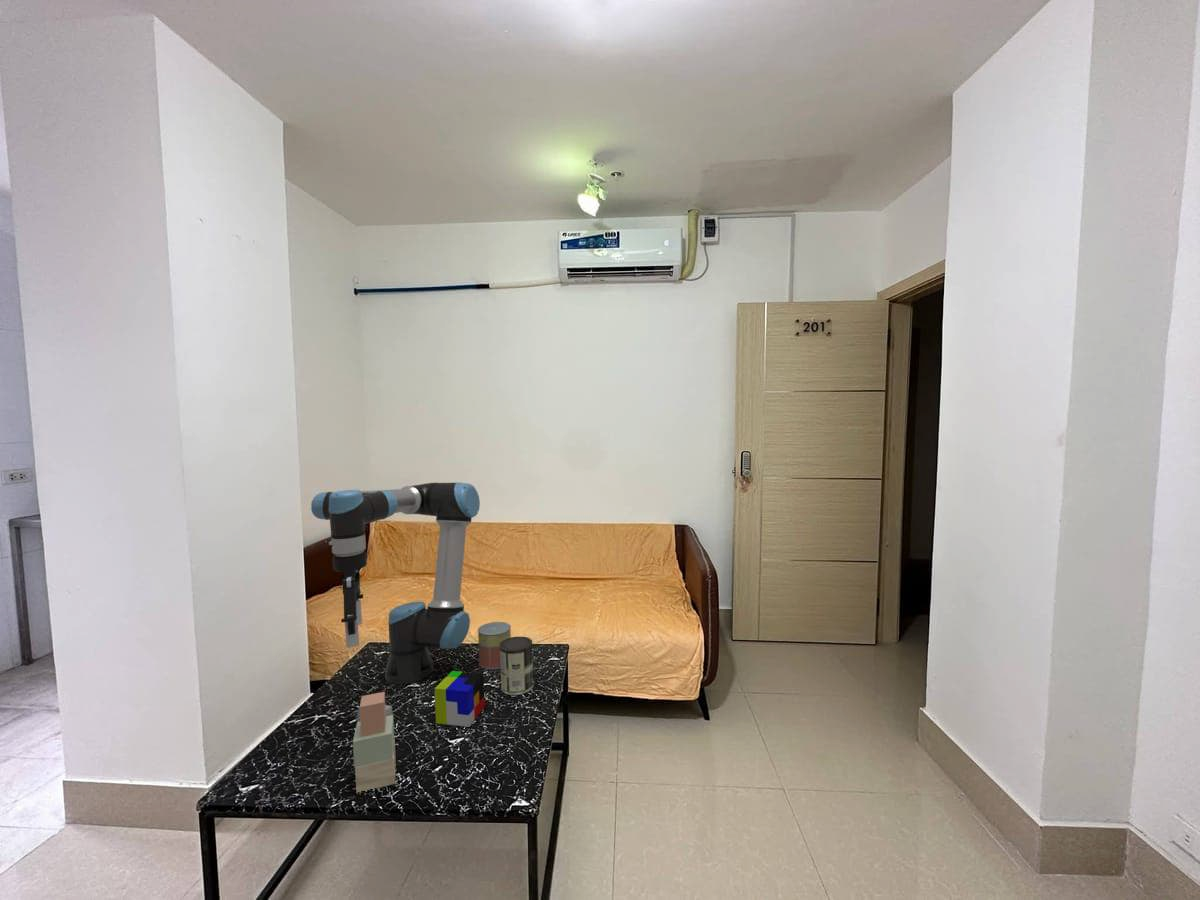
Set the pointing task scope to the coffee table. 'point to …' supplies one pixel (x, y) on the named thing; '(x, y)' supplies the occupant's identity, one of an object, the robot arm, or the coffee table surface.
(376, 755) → the sage block
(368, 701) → the terracotta block
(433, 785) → the coffee table surface
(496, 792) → the coffee table surface
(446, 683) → the puzzle toy
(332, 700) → the coffee table surface
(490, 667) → the canned food
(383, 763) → the beech block
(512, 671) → the coffee can
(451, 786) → the coffee table surface
